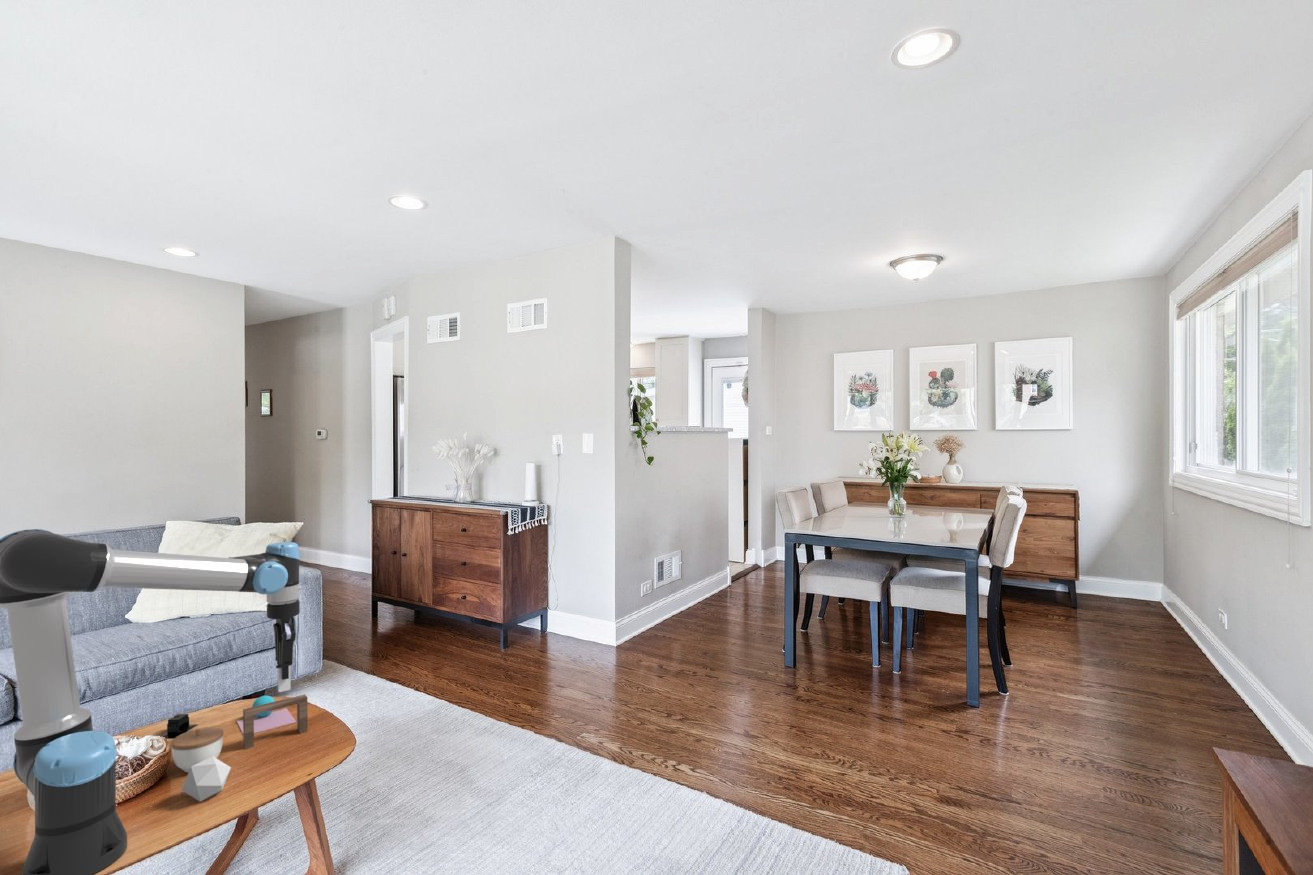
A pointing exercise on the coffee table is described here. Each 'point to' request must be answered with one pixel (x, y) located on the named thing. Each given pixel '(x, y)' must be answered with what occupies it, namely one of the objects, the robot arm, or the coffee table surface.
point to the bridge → (250, 712)
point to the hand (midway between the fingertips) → (284, 690)
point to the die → (206, 778)
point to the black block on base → (178, 726)
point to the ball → (262, 701)
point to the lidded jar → (196, 746)
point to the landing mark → (271, 721)
